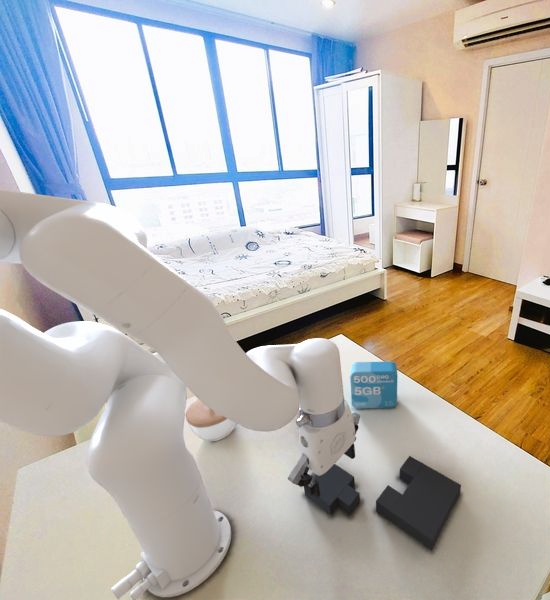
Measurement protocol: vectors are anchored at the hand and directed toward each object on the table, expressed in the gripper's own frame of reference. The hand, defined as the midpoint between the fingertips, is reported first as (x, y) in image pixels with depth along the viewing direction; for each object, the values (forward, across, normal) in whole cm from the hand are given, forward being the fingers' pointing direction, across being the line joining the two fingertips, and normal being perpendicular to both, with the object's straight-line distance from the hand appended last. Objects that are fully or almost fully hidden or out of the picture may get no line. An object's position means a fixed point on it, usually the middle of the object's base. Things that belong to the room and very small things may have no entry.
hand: (331, 472), depth 63 cm
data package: (+6, +24, +8) cm, 26 cm away
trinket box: (+5, -5, +33) cm, 34 cm away
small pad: (+5, -1, -1) cm, 5 cm away
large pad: (+5, +7, -16) cm, 18 cm away
